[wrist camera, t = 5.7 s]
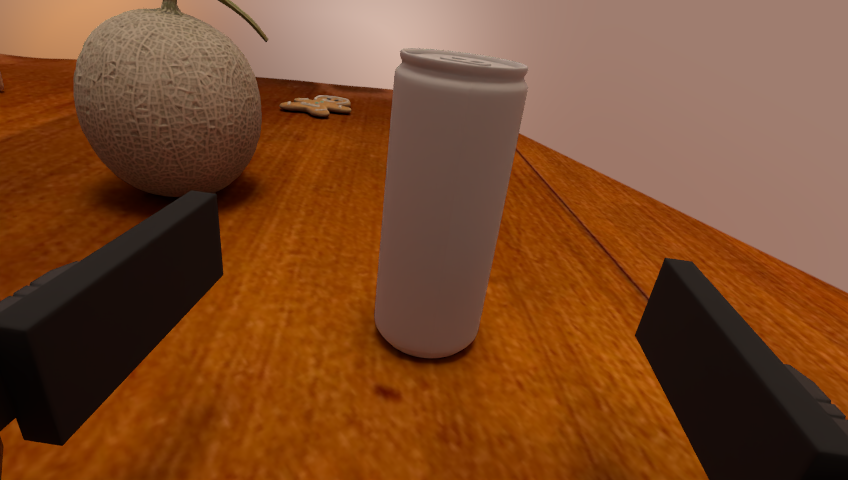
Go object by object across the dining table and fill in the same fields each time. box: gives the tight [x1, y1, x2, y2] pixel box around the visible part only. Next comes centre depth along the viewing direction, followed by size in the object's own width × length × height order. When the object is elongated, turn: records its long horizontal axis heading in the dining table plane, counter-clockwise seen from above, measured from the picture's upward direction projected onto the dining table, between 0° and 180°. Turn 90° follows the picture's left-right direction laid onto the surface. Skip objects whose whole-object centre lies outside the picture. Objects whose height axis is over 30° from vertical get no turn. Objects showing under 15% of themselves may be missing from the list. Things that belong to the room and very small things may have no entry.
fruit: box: [74, 0, 268, 197], centre depth 30 cm, size 10×12×15 cm
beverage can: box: [374, 48, 528, 358], centre depth 19 cm, size 5×5×12 cm
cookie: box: [280, 95, 351, 117], centre depth 61 cm, size 8×1×10 cm
